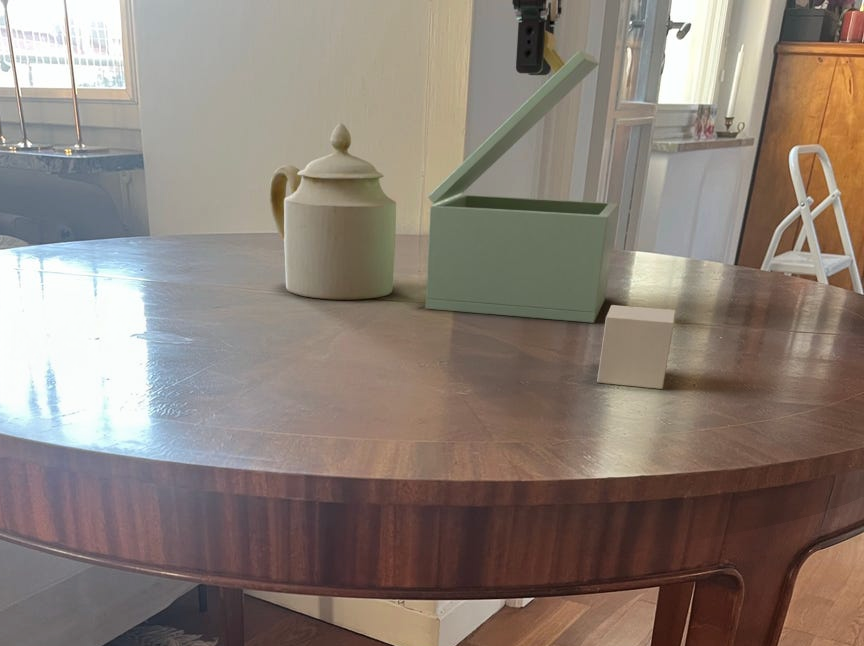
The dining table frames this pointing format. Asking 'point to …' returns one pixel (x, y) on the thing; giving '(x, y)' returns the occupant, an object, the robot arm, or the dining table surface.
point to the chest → (520, 256)
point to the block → (636, 346)
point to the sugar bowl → (335, 226)
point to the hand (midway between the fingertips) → (533, 73)
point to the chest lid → (519, 119)
